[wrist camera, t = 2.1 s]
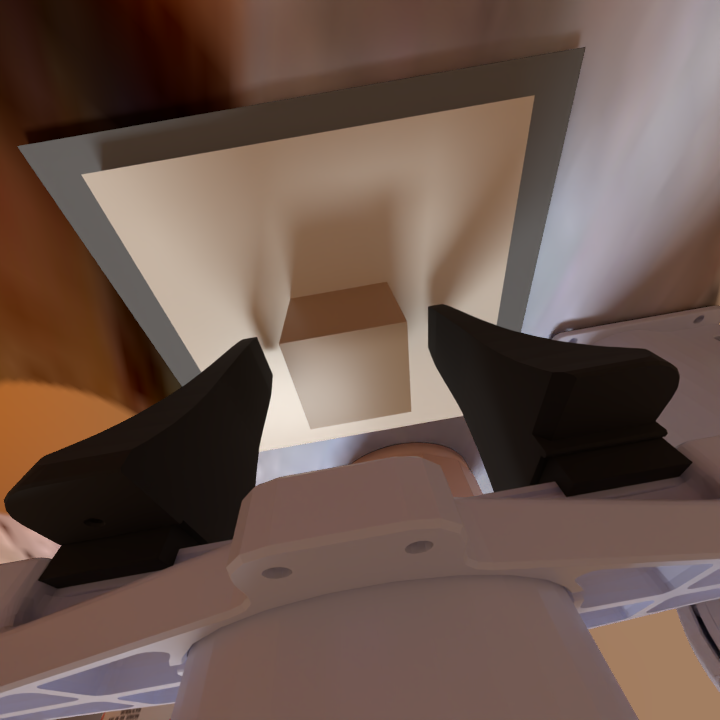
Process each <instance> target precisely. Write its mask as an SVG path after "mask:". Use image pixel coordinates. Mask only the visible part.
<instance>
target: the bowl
mask: <svg viewBox="0 0 720 720" xmlns="http://www.w3.org/2000/svg"><path fill="white" fill-rule="evenodd" d="M403 456H418V457H421V458H424V459H426V460H428V461H431V462H433V463H436V464H438V465H440V466H441V468H442V471H443V473H444V475H445V477H446V480H447V482H448V485H449V488H450V490H451V493H452V495H453V497H471V496H477V495H482V494H483V493H482V491H481V489H480V487H479V485H478V483H477V481H476V479H475V476H474V475H473V474H472V473H471V472H470V470H469V468H468V466H467V464H466V462H465V460H464V459H463V457H462V456H461V455H460V454H458V453H457V452H455V451H454V450H452V449H450V448H447V447H445V446H441V445H437V444H431V443H405V444H398V445H393V446H389V447H385V448H382V449H379V450H376V451H374V452H371V453H369V454H367V455H365V456H363V457H361V458H360V459H358V460H356V461H355V462H353V463H352V464H356V463H361V462H367V461H373V460H378V459H384V458H389V457H403Z"/></svg>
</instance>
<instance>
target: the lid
mask: <svg viewBox="0 0 720 720" xmlns="http://www.w3.org/2000/svg"><path fill="white" fill-rule="evenodd" d="M534 97H535V95H533V96H527V97H522V98H516V99H510V100H504V101H499V102H493V103H487V104H482V105H476V106H470V107H464V108H459V109H453V110H447V111H442V112H436V113H430V114H424V115H419V116H413V117H407V118H402V119H396V120H390V121H384V122H379V123H373V124H367V125H362V126H356V127H350V128H344V129H339V130H333V131H327V132H321V133H316V134H310V135H304V136H299V137H293V138H287V139H281V140H276V141H270V142H264V143H259V144H253V145H247V146H241V147H236V148H230V149H224V150H219V151H213V152H207V153H201V154H196V155H190V156H184V157H179V158H173V159H167V160H161V161H156V162H150V163H144V164H139V165H133V166H127V167H121V168H116V169H110V170H104V171H99V172H93V173H87V174H81V175H82V177H83V178H84V180H85V182H86V183H87V185H88V187H89V188H90V190H91V192H92V193H93V195H94V196H95V198H96V200H97V201H98V203H99V205H100V206H101V208H102V210H103V211H104V213H105V215H106V216H107V218H108V220H109V221H110V223H111V224H112V226H113V228H114V229H115V231H116V233H117V234H118V236H119V238H120V239H121V241H122V243H123V244H124V246H125V247H126V249H127V251H128V252H129V254H130V256H131V257H132V259H133V261H134V262H135V264H136V266H137V267H138V269H139V270H140V272H141V274H142V275H143V277H144V279H145V280H146V282H147V284H148V285H149V287H150V289H151V290H152V292H153V294H154V295H155V297H156V298H157V300H158V302H159V303H160V305H161V307H162V308H163V310H164V312H165V313H166V315H167V317H168V318H169V320H170V321H171V323H172V325H173V326H174V328H175V330H176V331H177V333H178V335H179V336H180V338H181V340H182V341H183V343H184V344H185V346H186V348H187V349H188V351H189V353H190V354H191V356H192V358H193V359H194V361H195V363H196V364H197V366H198V368H199V369H200V371H201V372H202V371H204V370H205V369H206V368H207V367H209V366H210V365H211V364H212V363H213V362H215V361H216V360H217V359H218V358H219V357H221V356H222V355H223V354H224V353H225V352H226V351H228V350H229V349H230V348H231V347H232V346H234V345H235V344H236V343H238V342H239V341H241V340H242V339H247V338H253V337H257V338H258V341H259V343H260V345H261V348H262V350H263V353H264V355H265V357H266V360H267V362H268V365H269V367H270V369H271V372H272V374H273V381H272V394H271V399H270V403H269V408H268V412H267V416H266V420H265V425H264V429H263V433H262V437H261V442H260V447H259V452H261V451H267V450H272V449H278V448H284V447H289V446H295V445H301V444H306V443H312V442H318V441H323V440H329V439H335V438H340V437H346V436H352V435H357V434H363V433H369V432H375V431H380V430H386V429H392V428H397V427H403V426H409V425H414V424H420V423H426V422H431V421H437V420H443V419H448V418H454V417H460V416H463V414H462V412H461V410H460V408H459V406H458V404H457V402H456V400H455V399H454V397H453V395H452V394H451V392H450V390H449V389H448V387H447V385H446V384H445V382H444V380H443V378H442V377H441V375H440V373H439V372H438V370H437V368H436V366H435V364H434V362H433V359H432V357H431V354H430V352H429V349H428V306H433V305H439V304H445V305H448V306H450V307H453V308H455V309H458V310H460V311H462V312H465V313H467V314H469V315H471V316H474V317H476V318H479V319H481V320H484V321H486V322H489V323H492V324H494V325H497V320H498V314H499V308H500V302H501V296H502V290H503V284H504V278H505V272H506V265H507V259H508V253H509V247H510V241H511V235H512V229H513V223H514V217H515V211H516V205H517V199H518V193H519V187H520V181H521V175H522V169H523V163H524V157H525V151H526V145H527V139H528V133H529V127H530V121H531V115H532V109H533V103H534Z"/></svg>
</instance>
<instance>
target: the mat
mask: <svg viewBox="0 0 720 720" xmlns="http://www.w3.org/2000/svg"><path fill="white" fill-rule="evenodd" d="M584 52H585V47H583V48H577V49H571V50H566V51H560V52H554V53H548V54H543V55H537V56H531V57H526V58H520V59H514V60H508V61H503V62H497V63H491V64H486V65H480V66H474V67H468V68H463V69H457V70H451V71H445V72H440V73H434V74H428V75H423V76H417V77H411V78H405V79H400V80H394V81H388V82H383V83H377V84H371V85H365V86H360V87H354V88H348V89H343V90H337V91H331V92H325V93H320V94H314V95H308V96H303V97H297V98H291V99H285V100H280V101H274V102H268V103H262V104H257V105H251V106H245V107H240V108H234V109H228V110H222V111H217V112H211V113H205V114H200V115H194V116H188V117H182V118H177V119H171V120H165V121H160V122H154V123H148V124H142V125H137V126H131V127H125V128H120V129H114V130H108V131H102V132H97V133H91V134H85V135H79V136H74V137H68V138H62V139H57V140H51V141H45V142H39V143H34V144H28V145H22V146H18V148H19V149H20V151H21V152H22V154H23V155H24V157H25V158H26V160H27V161H28V162H29V164H30V165H31V167H32V168H33V170H34V171H35V173H36V174H37V176H38V177H39V179H40V180H41V181H42V183H43V184H44V186H45V187H46V189H47V190H48V192H49V193H50V195H51V196H52V197H53V199H54V200H55V202H56V203H57V205H58V206H59V208H60V209H61V211H62V212H63V213H64V215H65V216H66V218H67V219H68V221H69V222H70V224H71V225H72V227H73V228H74V230H75V231H76V232H77V234H78V235H79V237H80V238H81V240H82V241H83V243H84V244H85V246H86V247H87V248H88V250H89V251H90V253H91V254H92V256H93V257H94V259H95V260H96V262H97V263H98V265H99V266H100V267H101V269H102V270H103V272H104V273H105V275H106V276H107V278H108V279H109V281H110V282H111V283H112V285H113V286H114V288H115V289H116V291H117V292H118V294H119V295H120V297H121V298H122V299H123V301H124V302H125V304H126V305H127V307H128V308H129V310H130V311H131V313H132V314H133V316H134V317H135V318H136V320H137V321H138V323H139V324H140V326H141V327H142V329H143V330H144V332H145V333H146V334H147V336H148V337H149V339H150V340H151V342H152V343H153V345H154V346H155V348H156V349H157V350H158V352H159V353H160V355H161V356H162V358H163V359H164V361H165V362H166V364H167V365H168V367H169V368H170V369H171V371H172V372H173V374H174V375H175V377H176V378H177V380H178V381H179V383H180V384H181V385H182V387H183V386H184V385H185V384H187V383H188V382H190V381H191V380H192V379H193V378H195V377H196V376H197V375H199V374H200V373H201V371H200V369H199V368H198V366H197V364H196V363H195V361H194V359H193V358H192V356H191V354H190V353H189V351H188V349H187V348H186V346H185V344H184V343H183V341H182V340H181V338H180V336H179V335H178V333H177V331H176V330H175V328H174V326H173V325H172V323H171V321H170V320H169V318H168V317H167V315H166V313H165V312H164V310H163V308H162V307H161V305H160V303H159V302H158V300H157V298H156V297H155V295H154V294H153V292H152V290H151V289H150V287H149V285H148V284H147V282H146V280H145V279H144V277H143V275H142V274H141V272H140V270H139V269H138V267H137V266H136V264H135V262H134V261H133V259H132V257H131V256H130V254H129V252H128V251H127V249H126V247H125V246H124V244H123V243H122V241H121V239H120V238H119V236H118V234H117V233H116V231H115V229H114V228H113V226H112V224H111V223H110V221H109V220H108V218H107V216H106V215H105V213H104V211H103V210H102V208H101V206H100V205H99V203H98V201H97V200H96V198H95V196H94V195H93V193H92V192H91V190H90V188H89V187H88V185H87V183H86V182H85V180H84V178H83V177H82V175H81V174H87V173H93V172H99V171H104V170H110V169H116V168H121V167H127V166H133V165H139V164H144V163H150V162H156V161H161V160H167V159H173V158H179V157H184V156H190V155H196V154H201V153H207V152H213V151H219V150H224V149H230V148H236V147H241V146H247V145H253V144H259V143H264V142H270V141H276V140H281V139H287V138H293V137H299V136H304V135H310V134H316V133H321V132H327V131H333V130H339V129H344V128H350V127H356V126H362V125H367V124H373V123H379V122H384V121H390V120H396V119H402V118H407V117H413V116H419V115H424V114H430V113H436V112H442V111H447V110H453V109H459V108H464V107H470V106H476V105H482V104H487V103H493V102H499V101H504V100H510V99H516V98H522V97H527V96H533V95H535V97H534V103H533V109H532V115H531V121H530V127H529V133H528V139H527V145H526V151H525V157H524V163H523V169H522V175H521V181H520V187H519V193H518V199H517V205H516V211H515V217H514V223H513V229H512V235H511V241H510V247H509V253H508V259H507V265H506V272H505V278H504V284H503V290H502V296H501V302H500V308H499V314H498V320H497V326H500V327H503V328H506V329H509V330H513V331H517V332H520V333H521V329H522V324H523V320H524V315H525V311H526V307H527V302H528V298H529V293H530V289H531V285H532V280H533V276H534V271H535V267H536V263H537V258H538V254H539V249H540V245H541V241H542V236H543V232H544V227H545V223H546V219H547V214H548V210H549V205H550V201H551V197H552V192H553V188H554V183H555V179H556V175H557V170H558V166H559V161H560V157H561V153H562V148H563V144H564V140H565V135H566V131H567V126H568V122H569V118H570V113H571V109H572V104H573V100H574V96H575V91H576V87H577V82H578V78H579V74H580V69H581V65H582V60H583V56H584Z"/></svg>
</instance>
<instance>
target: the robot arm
mask: <svg viewBox="0 0 720 720" xmlns="http://www.w3.org/2000/svg"><path fill="white" fill-rule="evenodd" d="M719 323H720V306H710V307H704V308H698V309H693V310H687V311H681V312H676V313H670V314H664V315H659V316H653V317H647V318H642V319H636V320H630V321H624V322H619V323H613V324H607V325H602V326H596V327H590V328H585V329H579V330H573V331H568V332H562V333H559V334H557V335H555V336H554V337H553V338H552V339H547V338H541V337H536V336H532V335H528V334H524V333H520V332H517V331H513V330H509V329H506V328H503V327H500V326H497V325H494V324H492V323H489V322H486V321H484V320H481V319H479V318H476V317H474V316H471V315H469V314H467V313H465V312H462V311H460V310H458V309H455V308H453V307H450V306H448V305H445V304H439V305H433V306H428V349H429V352H430V354H431V357H432V359H433V362H434V364H435V366H436V368H437V370H438V372H439V373H440V375H441V377H442V378H443V380H444V382H445V384H446V385H447V387H448V389H449V390H450V392H451V394H452V395H453V397H454V399H455V400H456V402H457V404H458V406H459V408H460V410H461V412H462V414H463V416H464V418H465V420H466V423H467V425H468V427H469V429H470V432H471V434H472V436H473V439H474V441H475V444H476V446H477V449H478V451H479V453H480V456H481V459H482V461H483V464H484V466H485V469H486V472H487V474H488V477H489V479H490V482H491V485H492V488H493V491H494V492H493V493H488V494H482V495H477V496H471V497H453V495H452V493H451V490H450V488H449V485H448V482H447V480H446V477H445V475H444V473H443V471H442V468H441V466H440V465H438V464H436V463H433V462H431V461H428V460H426V459H424V458H421V457H418V456H403V457H389V458H384V459H378V460H373V461H367V462H361V463H356V464H350V465H345V466H339V467H333V468H328V469H322V470H317V471H311V472H306V473H300V474H294V475H289V476H283V477H279V478H276V479H273V480H271V481H268V482H265V483H262V484H259V485H258V486H256V487H255V484H256V472H257V463H258V455H259V447H260V442H261V437H262V433H263V429H264V425H265V420H266V416H267V412H268V408H269V403H270V399H271V394H272V381H273V374H272V372H271V369H270V367H269V365H268V362H267V360H266V357H265V355H264V353H263V350H262V348H261V345H260V343H259V341H258V338H257V337H253V338H247V339H242V340H241V341H239V342H238V343H236V344H235V345H234V346H232V347H231V348H230V349H229V350H228V351H226V352H225V353H224V354H223V355H222V356H221V357H219V358H218V359H217V360H216V361H215V362H213V363H212V364H211V365H210V366H209V367H207V368H206V369H205V370H204V371H202V372H201V373H200V374H199V375H197V376H196V377H195V378H193V379H192V380H191V381H190V382H188V383H187V384H185V385H184V386H183V387H181V388H180V389H178V390H177V391H175V392H174V393H172V394H171V395H169V396H168V397H166V398H165V399H163V400H161V401H160V402H158V403H156V404H154V405H153V406H151V407H149V408H147V409H146V410H144V411H142V412H140V413H139V414H137V415H135V416H133V417H131V418H129V419H127V420H125V421H123V422H121V423H120V424H117V425H115V426H113V427H111V428H109V429H107V430H105V431H103V432H101V433H98V434H97V435H94V436H92V437H90V438H87V439H85V440H82V441H80V442H77V443H75V444H73V445H70V446H68V447H65V448H63V449H61V450H58V451H56V452H53V453H51V454H48V455H46V456H44V457H43V458H41V459H40V460H39V461H38V462H37V463H36V464H35V465H34V466H33V467H32V468H31V469H30V470H29V471H28V472H27V473H26V474H25V475H24V476H23V478H22V479H21V480H20V481H19V482H18V483H17V484H16V485H15V486H14V487H13V488H12V489H11V490H10V491H9V492H8V494H7V495H6V497H5V499H4V503H5V508H6V511H7V512H8V513H9V515H10V516H11V517H12V518H13V519H14V520H16V521H17V522H19V523H20V524H22V525H24V526H25V527H27V528H29V529H31V530H33V531H35V532H37V533H38V534H40V535H42V536H44V537H46V538H48V539H50V540H52V541H53V542H55V543H57V544H59V545H61V547H60V548H59V550H58V551H57V553H56V554H55V556H54V557H53V559H49V558H32V559H26V560H21V561H15V562H10V563H4V564H0V720H53V719H60V718H67V717H73V716H80V715H88V714H95V713H102V712H111V711H119V710H126V709H134V708H142V707H150V706H158V705H166V704H174V703H175V705H174V708H173V712H172V715H171V719H170V720H639V719H638V718H637V716H636V714H635V712H634V711H633V709H632V707H631V705H630V703H629V702H628V700H627V698H626V696H625V695H624V693H623V691H622V689H621V687H620V686H619V684H618V682H617V680H616V679H615V677H614V675H613V673H612V672H611V670H610V668H609V666H608V664H607V663H606V661H605V659H604V657H603V655H602V654H601V652H600V650H599V649H598V646H597V645H596V643H595V641H594V639H593V638H592V636H591V634H590V632H589V631H588V629H591V628H596V627H600V626H604V625H608V624H612V623H617V622H621V621H625V620H629V619H633V618H637V617H642V616H646V615H650V614H654V613H658V612H662V611H666V610H671V609H675V608H676V609H677V612H678V615H679V618H680V621H681V624H682V626H683V628H684V631H685V634H686V636H687V639H688V641H689V643H690V645H691V647H692V649H693V651H694V653H695V655H696V657H697V658H698V660H699V662H700V664H701V665H702V667H703V668H704V670H705V672H706V673H707V675H708V676H709V678H710V679H711V681H712V682H713V684H714V685H715V686H716V688H717V689H718V690H719V692H720V325H719ZM569 340H570V341H569Z"/></svg>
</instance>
